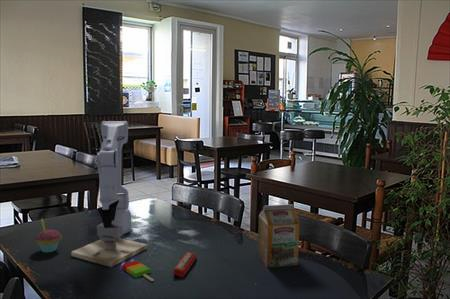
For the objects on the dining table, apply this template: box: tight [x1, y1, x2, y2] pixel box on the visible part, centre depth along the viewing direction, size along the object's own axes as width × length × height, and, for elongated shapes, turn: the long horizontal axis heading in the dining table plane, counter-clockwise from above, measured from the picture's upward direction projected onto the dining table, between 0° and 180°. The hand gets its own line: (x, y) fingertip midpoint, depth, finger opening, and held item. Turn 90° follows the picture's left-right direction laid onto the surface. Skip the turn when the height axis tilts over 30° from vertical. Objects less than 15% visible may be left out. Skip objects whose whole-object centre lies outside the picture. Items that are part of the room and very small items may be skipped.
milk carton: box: [257, 203, 300, 268], centre depth 138 cm, size 11×11×19 cm
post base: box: [71, 237, 148, 268], centre depth 144 cm, size 18×18×4 cm
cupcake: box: [34, 217, 63, 253], centre depth 145 cm, size 9×8×12 cm
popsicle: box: [121, 260, 155, 282], centre depth 128 cm, size 6×15×2 cm, turn 41°
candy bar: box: [172, 251, 197, 278], centre depth 133 cm, size 16×4×3 cm, turn 168°
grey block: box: [96, 222, 123, 242], centre depth 144 cm, size 8×6×5 cm
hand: (109, 223), depth 143 cm, fingers open, 7 cm apart
